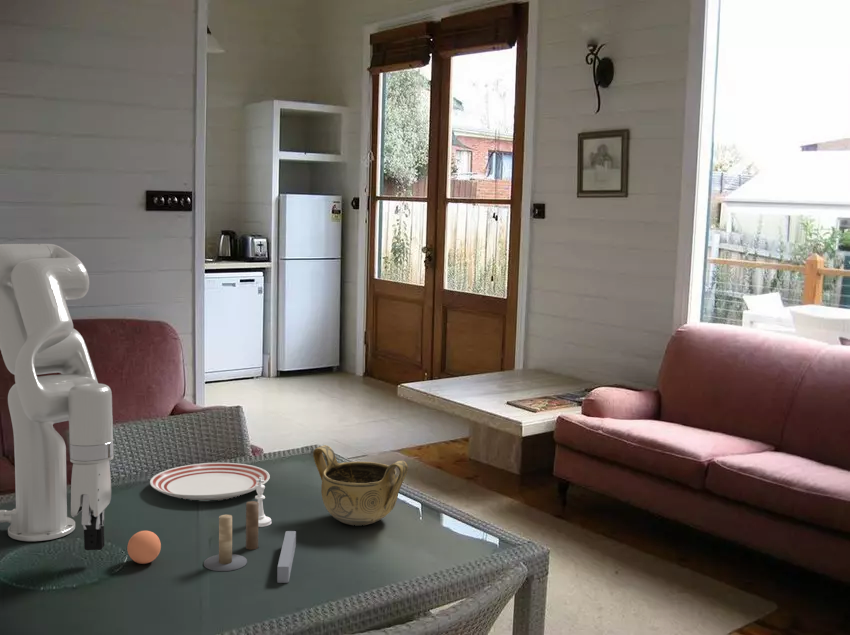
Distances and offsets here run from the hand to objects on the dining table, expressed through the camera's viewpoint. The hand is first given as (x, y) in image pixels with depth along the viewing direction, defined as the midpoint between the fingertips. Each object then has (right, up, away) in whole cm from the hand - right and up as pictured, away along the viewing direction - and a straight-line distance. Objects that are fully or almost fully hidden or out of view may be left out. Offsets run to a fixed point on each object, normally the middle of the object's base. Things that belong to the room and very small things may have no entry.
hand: (94, 548), depth 172 cm
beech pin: (+24, -3, +3) cm, 24 cm away
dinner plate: (+11, +2, +47) cm, 48 cm away
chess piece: (+26, -1, +25) cm, 36 cm away
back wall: (+35, -4, +4) cm, 36 cm away
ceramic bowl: (+47, -1, +28) cm, 55 cm away
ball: (+9, 0, +1) cm, 9 cm away
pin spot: (+24, -3, +3) cm, 24 cm away
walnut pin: (+27, -3, +11) cm, 29 cm away
